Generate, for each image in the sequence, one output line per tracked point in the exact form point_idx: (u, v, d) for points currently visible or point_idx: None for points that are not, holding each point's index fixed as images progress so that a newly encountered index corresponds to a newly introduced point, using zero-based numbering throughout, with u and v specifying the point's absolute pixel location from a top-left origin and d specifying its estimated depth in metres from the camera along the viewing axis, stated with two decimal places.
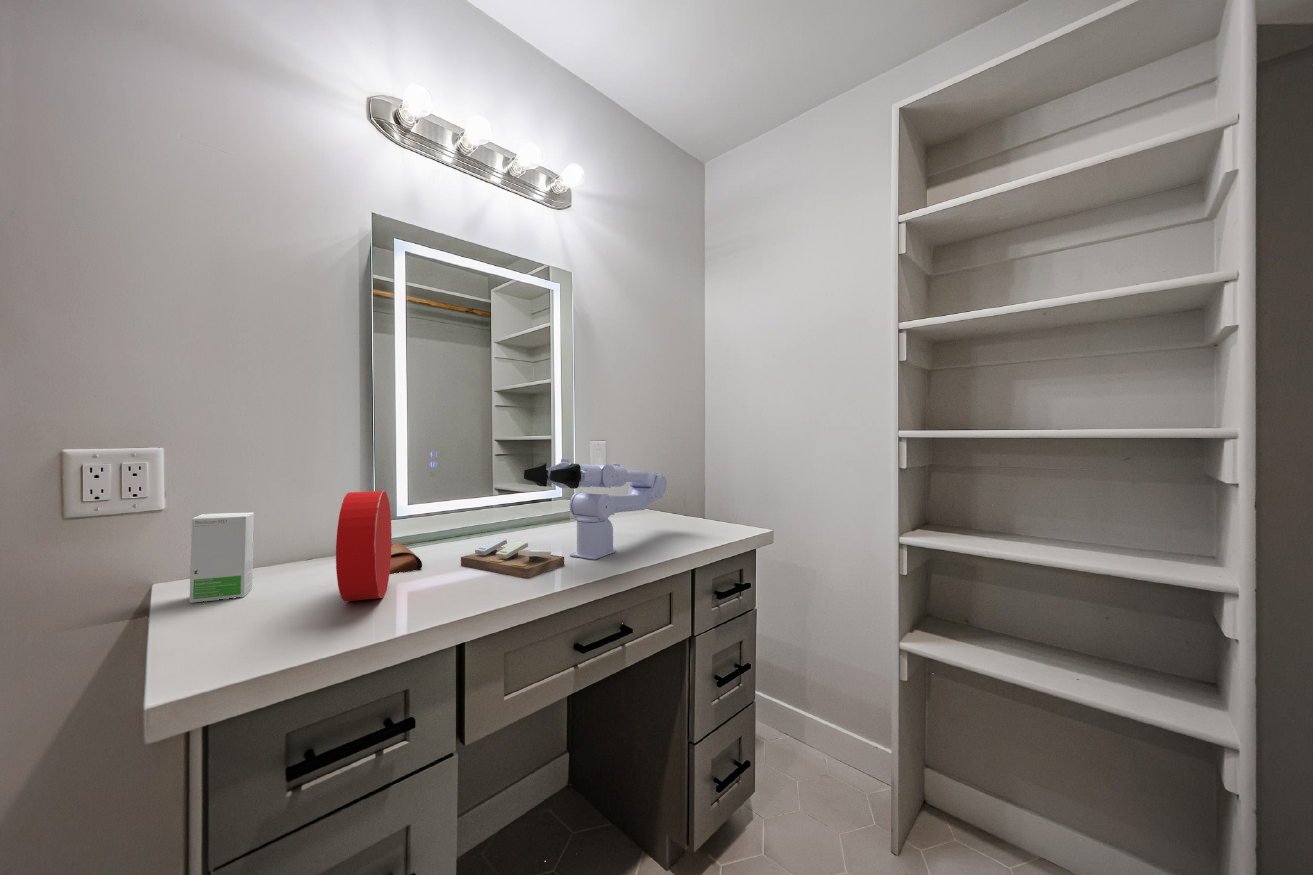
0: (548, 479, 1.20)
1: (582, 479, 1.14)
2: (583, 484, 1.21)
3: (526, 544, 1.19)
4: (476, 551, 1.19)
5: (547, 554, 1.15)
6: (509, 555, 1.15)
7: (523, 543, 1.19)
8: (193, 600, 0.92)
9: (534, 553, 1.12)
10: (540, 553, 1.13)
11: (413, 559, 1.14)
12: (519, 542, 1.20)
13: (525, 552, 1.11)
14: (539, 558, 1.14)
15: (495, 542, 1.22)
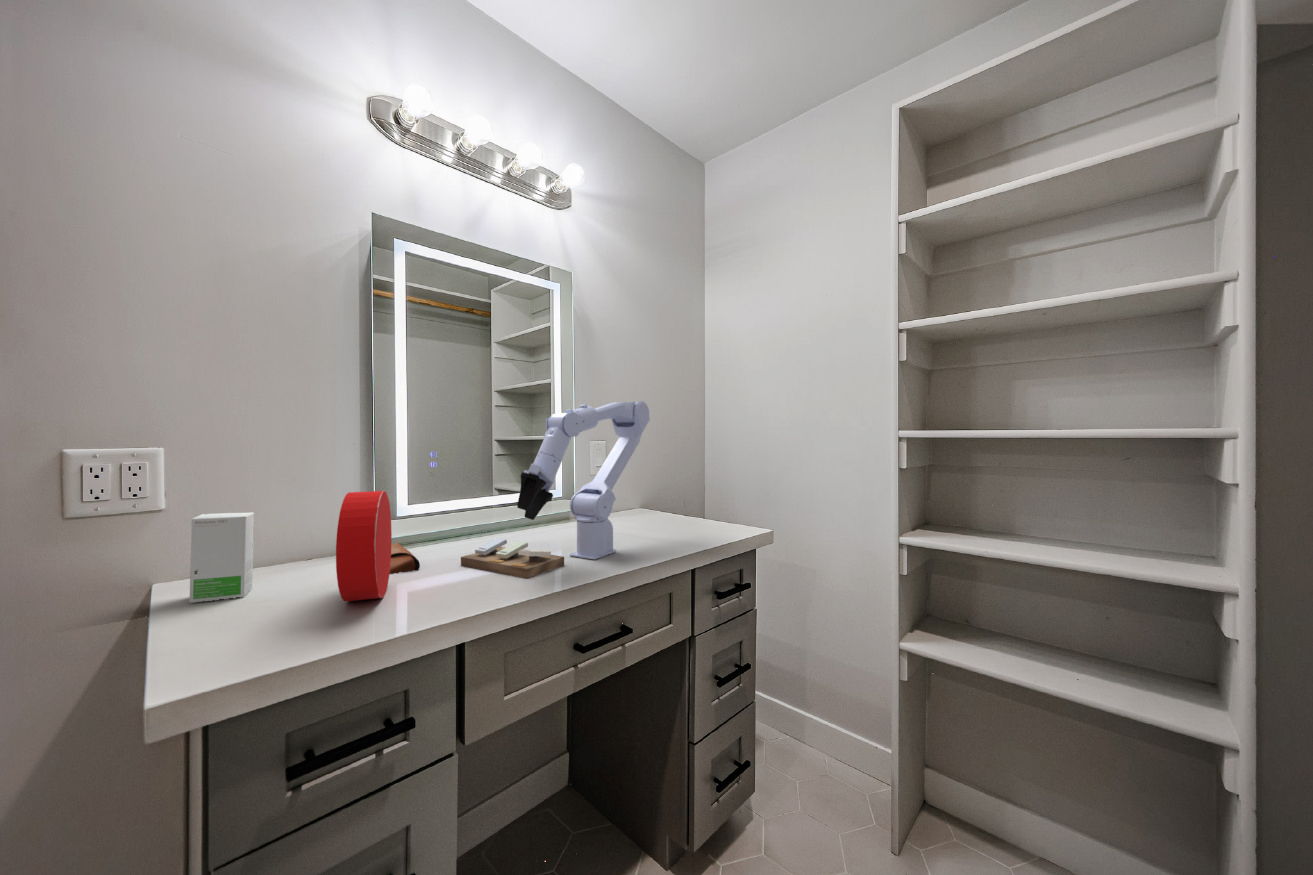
0: (548, 487, 1.18)
1: (535, 474, 1.07)
2: (556, 457, 1.14)
3: (526, 544, 1.19)
4: (476, 551, 1.19)
5: (547, 554, 1.15)
6: (509, 555, 1.15)
7: (523, 543, 1.19)
8: (193, 600, 0.92)
9: (534, 553, 1.12)
10: (540, 553, 1.13)
11: (410, 560, 1.13)
12: (519, 542, 1.20)
13: (525, 552, 1.11)
14: (539, 558, 1.14)
15: (495, 542, 1.22)
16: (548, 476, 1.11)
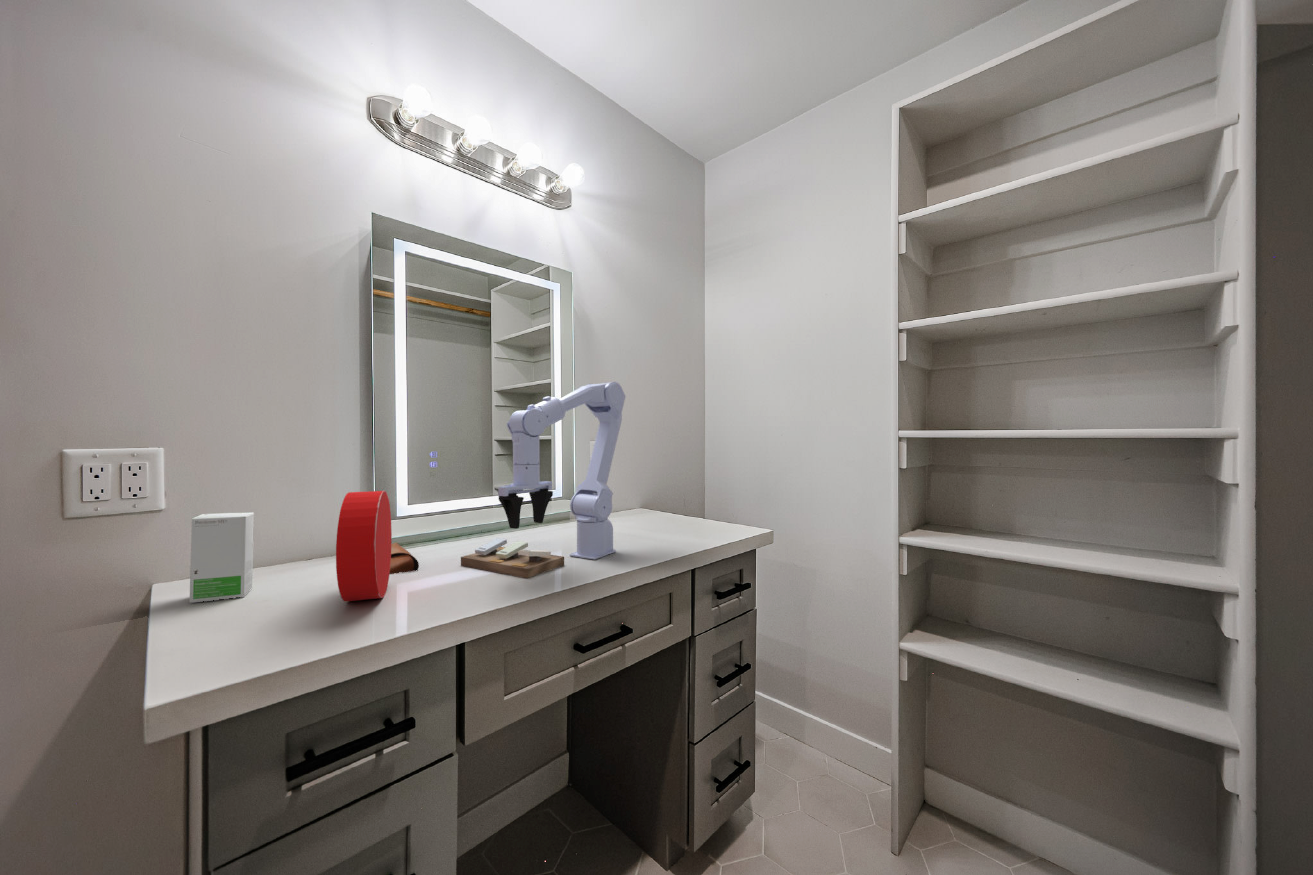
0: (544, 485, 1.15)
1: (506, 496, 1.06)
2: (527, 464, 1.09)
3: (526, 544, 1.19)
4: (476, 551, 1.19)
5: (547, 554, 1.15)
6: (509, 555, 1.15)
7: (523, 543, 1.19)
8: (193, 600, 0.92)
9: (534, 553, 1.12)
10: (540, 553, 1.13)
11: (409, 560, 1.13)
12: (519, 542, 1.20)
13: (525, 552, 1.11)
14: (539, 558, 1.14)
15: (495, 542, 1.22)
16: (525, 487, 1.08)
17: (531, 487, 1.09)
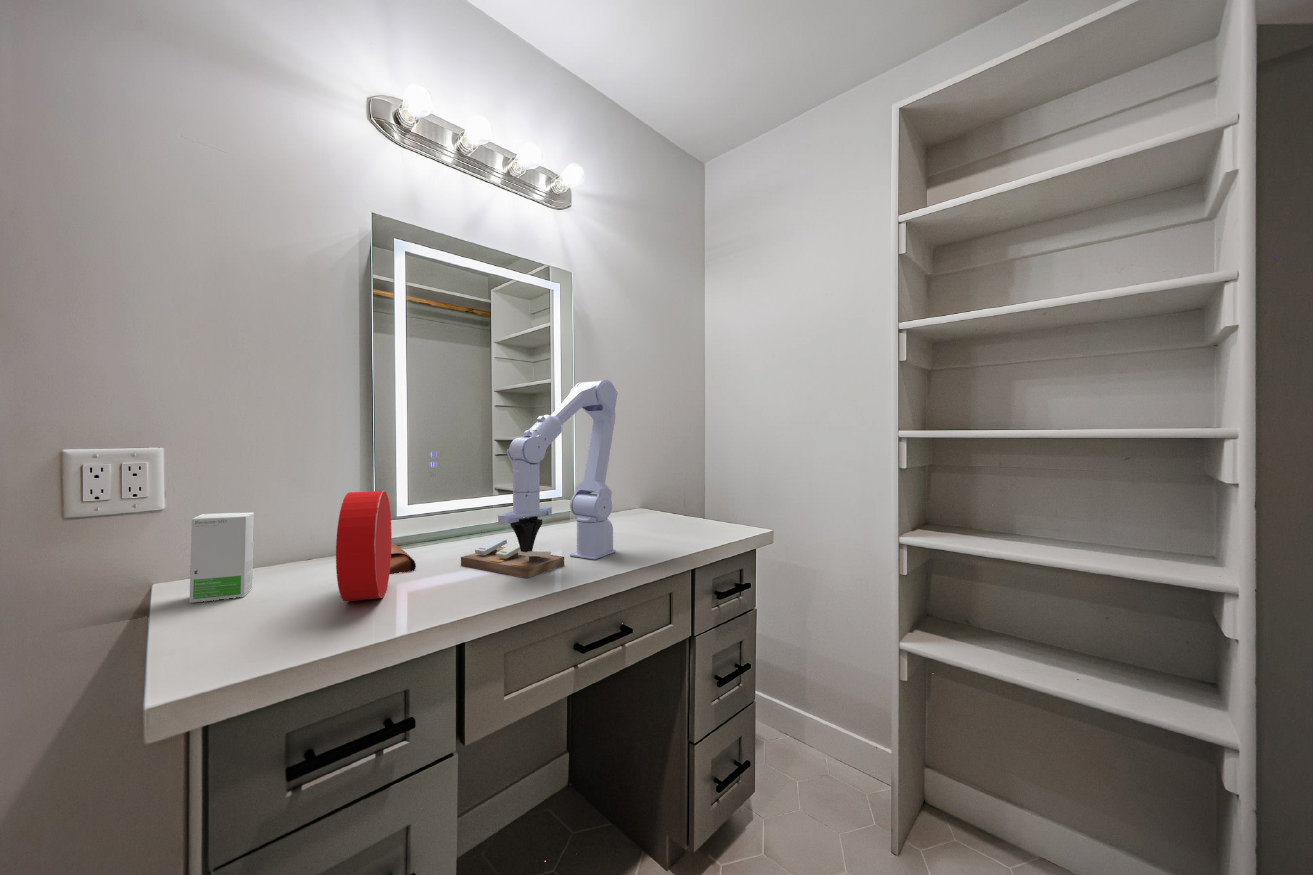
0: None
1: None
2: (527, 491, 1.09)
3: None
4: (476, 551, 1.19)
5: (547, 554, 1.15)
6: (509, 555, 1.15)
7: None
8: (193, 600, 0.92)
9: (534, 553, 1.12)
10: (540, 553, 1.13)
11: (406, 560, 1.13)
12: None
13: (525, 552, 1.11)
14: (539, 558, 1.14)
15: (495, 542, 1.22)
16: (525, 515, 1.08)
17: (531, 515, 1.09)
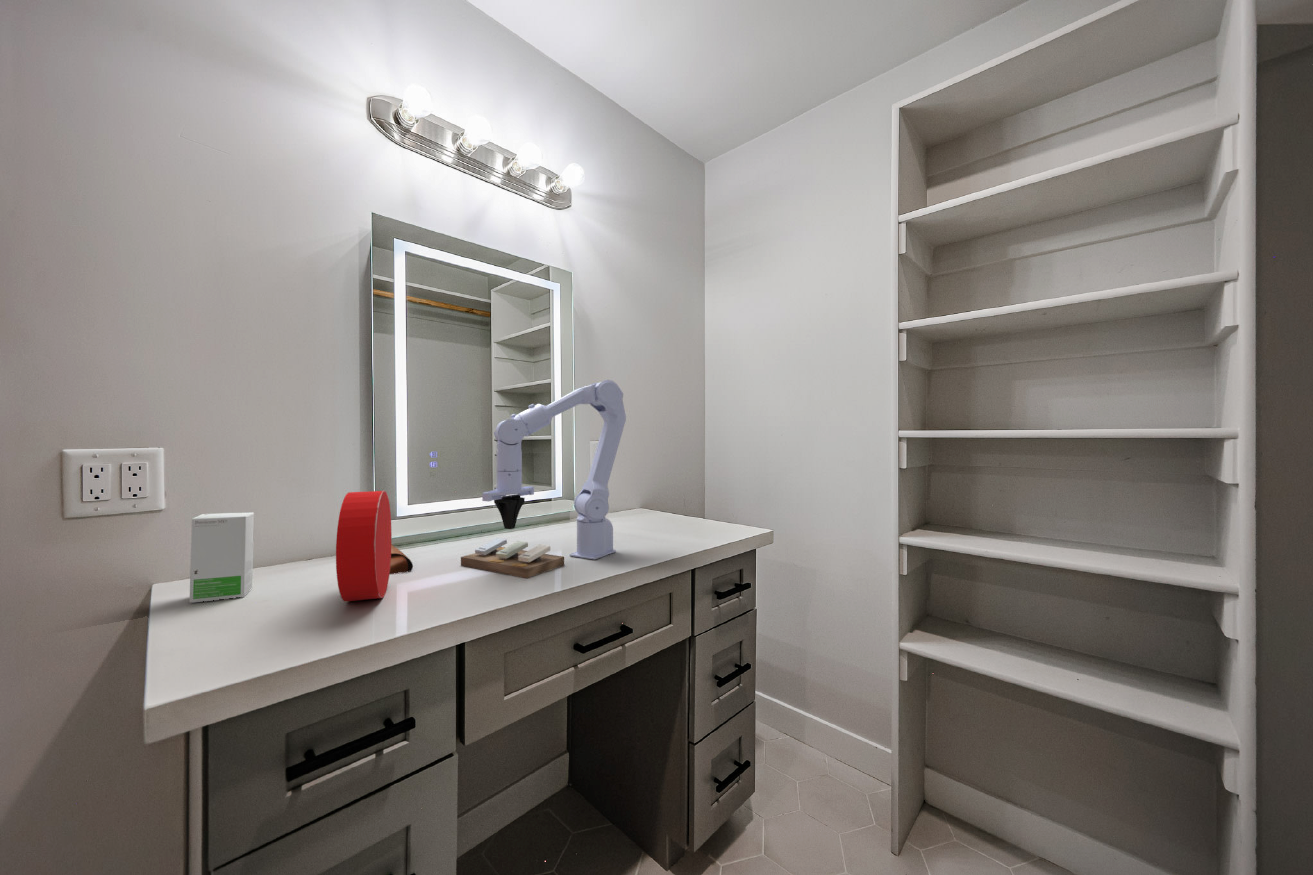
0: None
1: None
2: (509, 470, 1.16)
3: (526, 544, 1.19)
4: (476, 551, 1.19)
5: (547, 550, 1.15)
6: (509, 555, 1.15)
7: (523, 543, 1.19)
8: (193, 600, 0.92)
9: (534, 557, 1.12)
10: (540, 553, 1.13)
11: (403, 561, 1.13)
12: (519, 542, 1.20)
13: (524, 558, 1.11)
14: (539, 558, 1.14)
15: (495, 542, 1.22)
16: (508, 492, 1.15)
17: (513, 492, 1.16)
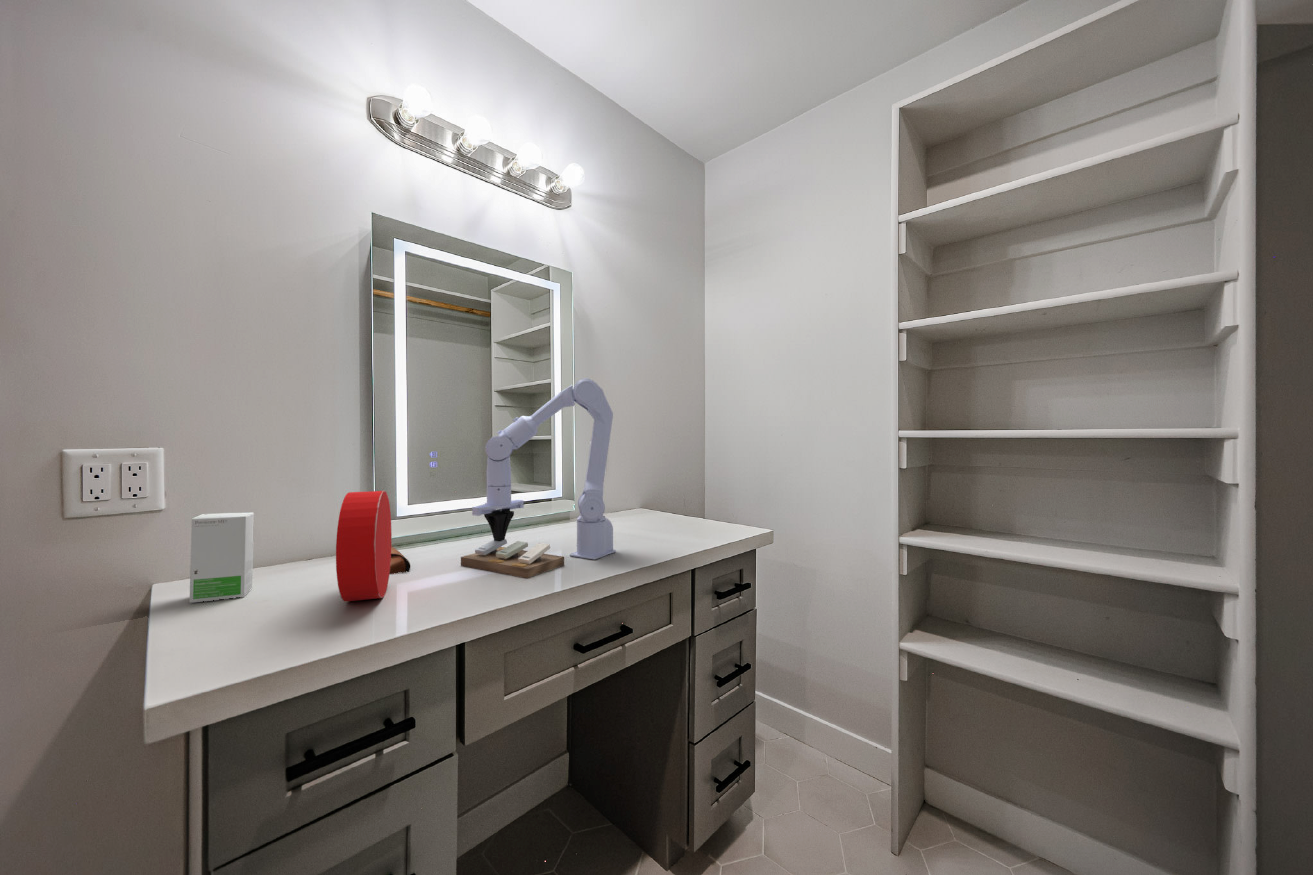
0: None
1: None
2: (499, 485, 1.20)
3: (526, 544, 1.19)
4: (476, 551, 1.19)
5: (547, 549, 1.15)
6: (509, 555, 1.15)
7: (523, 543, 1.19)
8: (193, 600, 0.92)
9: (534, 558, 1.12)
10: (539, 553, 1.13)
11: (401, 561, 1.12)
12: (519, 542, 1.20)
13: (525, 560, 1.11)
14: (539, 558, 1.14)
15: (495, 542, 1.22)
16: (497, 507, 1.20)
17: (503, 507, 1.21)
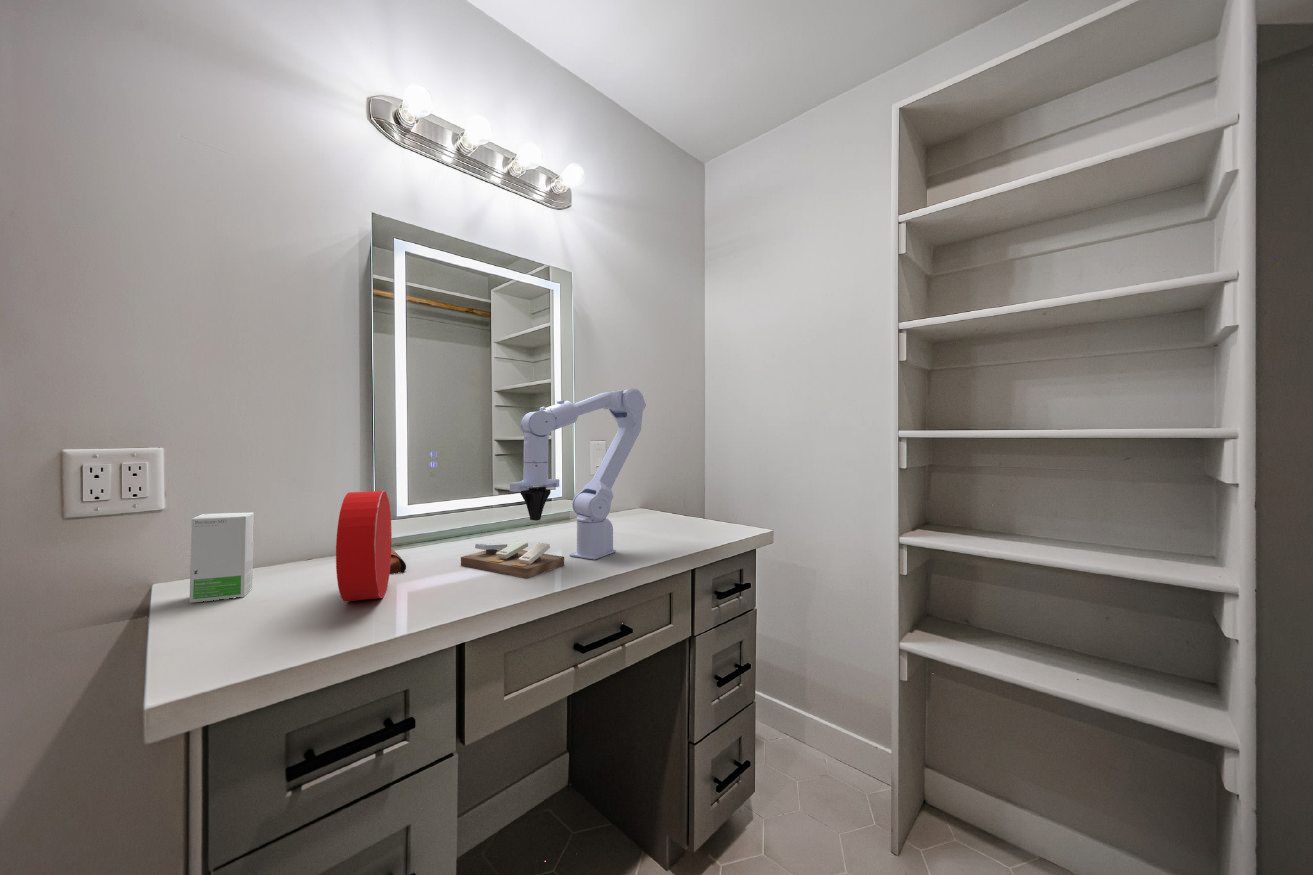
0: None
1: (516, 491, 1.13)
2: (536, 462, 1.16)
3: (526, 544, 1.19)
4: (476, 546, 1.19)
5: (546, 548, 1.15)
6: (509, 555, 1.15)
7: (523, 543, 1.19)
8: (193, 600, 0.92)
9: (534, 558, 1.12)
10: (539, 553, 1.13)
11: (396, 561, 1.12)
12: (519, 542, 1.20)
13: (525, 561, 1.11)
14: (539, 558, 1.14)
15: (496, 543, 1.22)
16: (534, 483, 1.15)
17: (540, 484, 1.16)
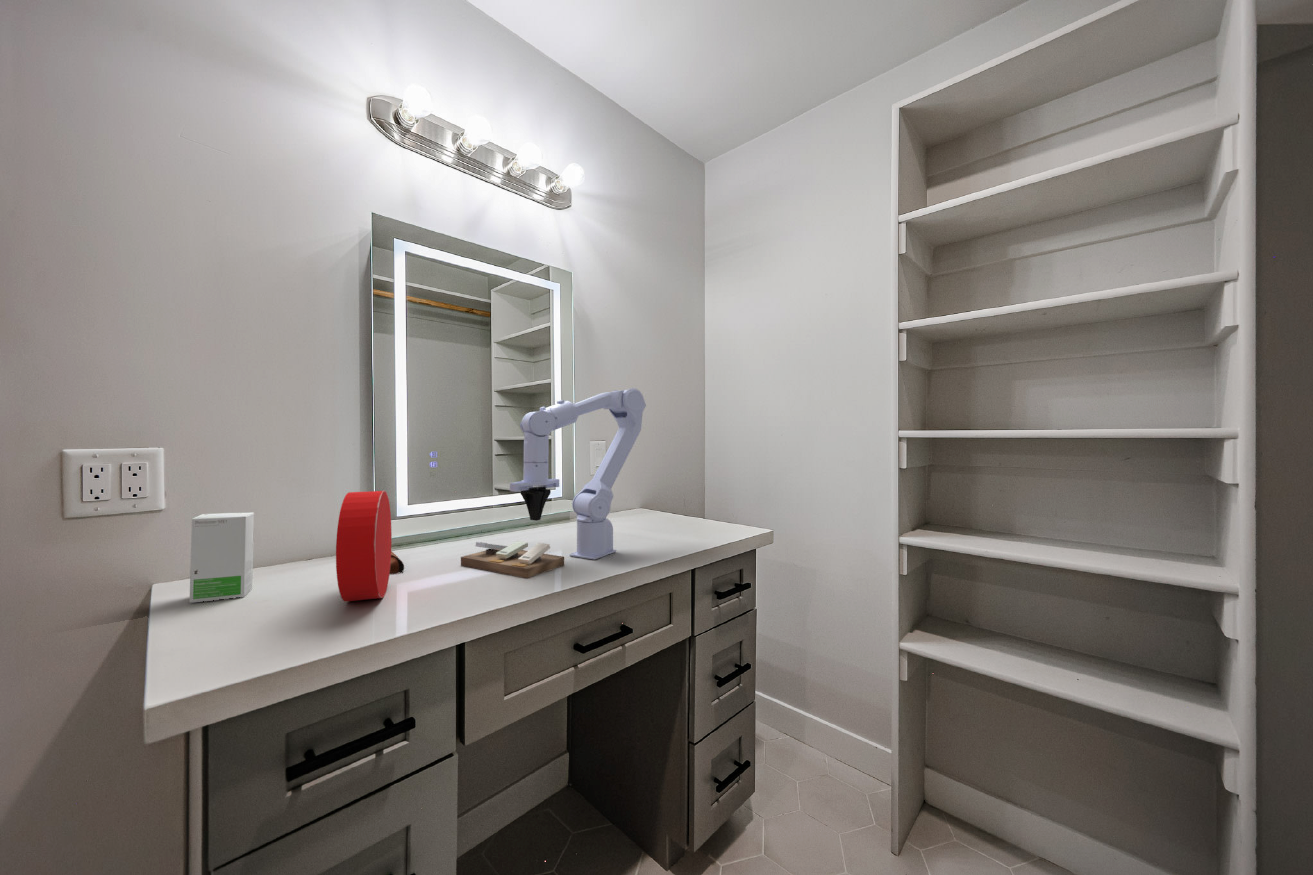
0: None
1: (517, 491, 1.13)
2: (536, 462, 1.16)
3: (526, 544, 1.19)
4: (477, 544, 1.19)
5: (546, 548, 1.15)
6: (509, 555, 1.15)
7: (523, 543, 1.19)
8: (193, 600, 0.92)
9: (534, 558, 1.12)
10: (539, 553, 1.13)
11: (394, 562, 1.12)
12: (519, 542, 1.20)
13: (525, 561, 1.11)
14: (539, 558, 1.14)
15: None
16: (534, 483, 1.15)
17: (540, 484, 1.16)
